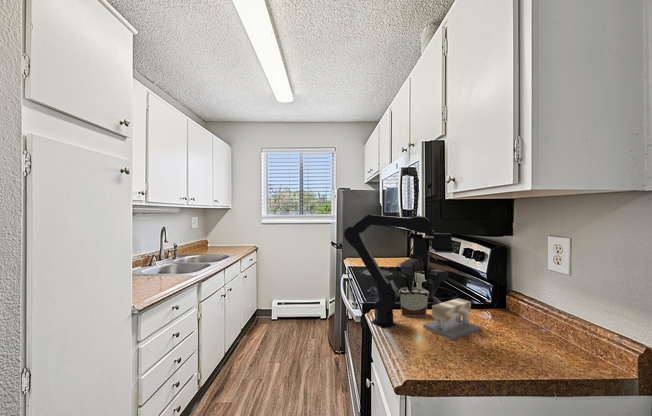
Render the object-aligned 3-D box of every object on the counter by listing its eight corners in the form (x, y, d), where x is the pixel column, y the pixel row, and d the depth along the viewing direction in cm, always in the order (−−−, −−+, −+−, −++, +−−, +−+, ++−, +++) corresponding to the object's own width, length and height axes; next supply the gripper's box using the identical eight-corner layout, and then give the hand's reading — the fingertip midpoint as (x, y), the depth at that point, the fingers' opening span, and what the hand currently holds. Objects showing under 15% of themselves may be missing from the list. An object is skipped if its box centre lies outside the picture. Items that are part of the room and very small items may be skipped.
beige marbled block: (458, 308, 114) (458, 298, 114) (470, 312, 110) (470, 301, 110) (432, 316, 105) (432, 305, 105) (444, 321, 101) (444, 309, 101)
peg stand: (423, 327, 108) (423, 313, 108) (450, 318, 117) (450, 306, 117) (453, 340, 98) (453, 324, 98) (480, 329, 107) (480, 315, 107)
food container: (426, 311, 125) (426, 287, 125) (429, 316, 119) (430, 291, 119) (395, 310, 126) (396, 286, 126) (398, 315, 120) (398, 290, 120)
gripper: (385, 249, 111) (385, 291, 111) (427, 257, 95) (427, 306, 95) (406, 247, 117) (406, 287, 117) (449, 254, 101) (448, 300, 101)
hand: (420, 295), depth 107 cm, fingers open, 9 cm apart
